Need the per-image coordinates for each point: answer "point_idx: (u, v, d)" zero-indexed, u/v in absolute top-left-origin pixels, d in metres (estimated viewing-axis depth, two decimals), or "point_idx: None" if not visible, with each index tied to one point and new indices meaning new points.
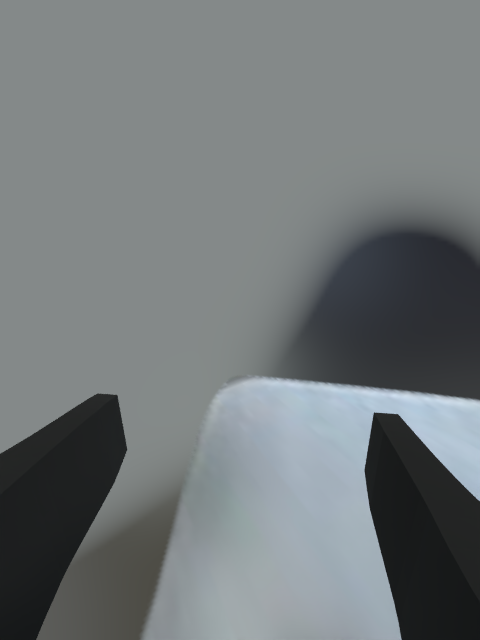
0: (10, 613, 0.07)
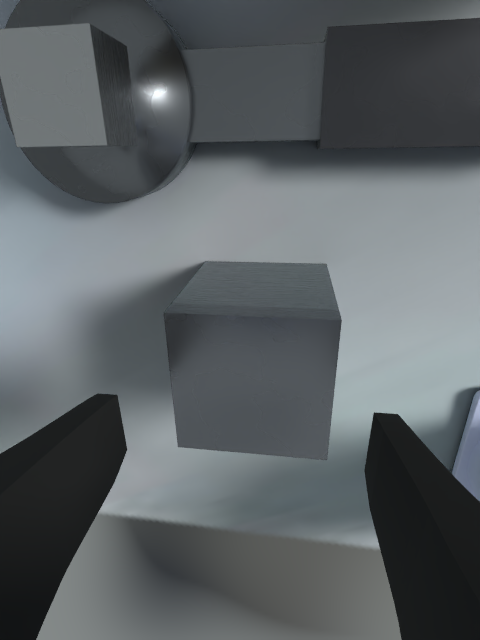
0: (10, 613, 0.07)
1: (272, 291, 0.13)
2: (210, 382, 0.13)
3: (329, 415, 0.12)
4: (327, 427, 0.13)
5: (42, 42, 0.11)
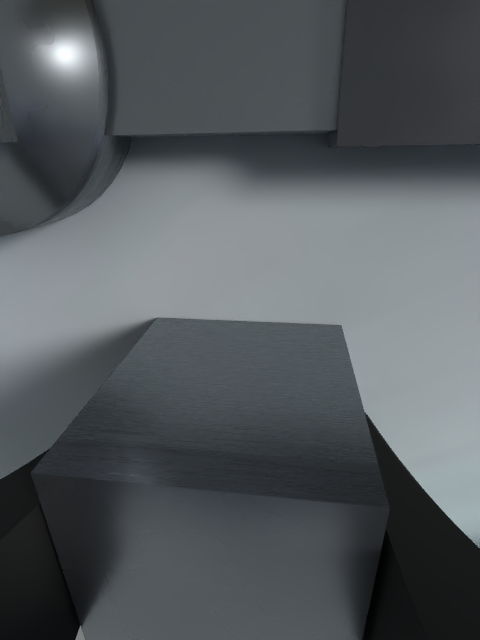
0: (51, 619, 0.07)
1: (252, 400, 0.08)
2: (134, 582, 0.07)
3: None
4: None
5: None
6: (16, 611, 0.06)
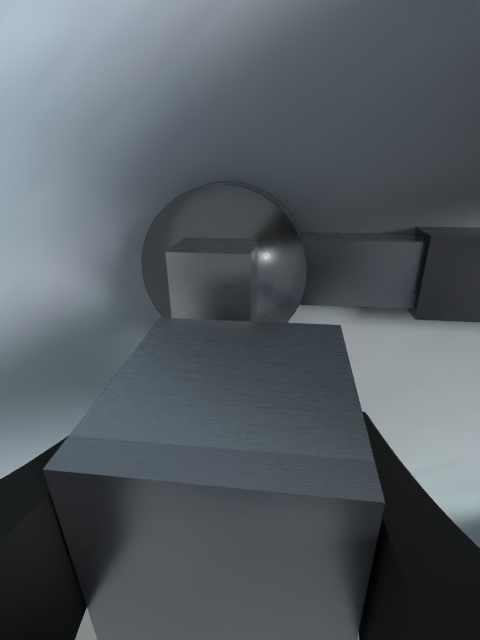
0: (50, 619, 0.07)
1: (254, 399, 0.08)
2: (141, 573, 0.07)
3: (353, 634, 0.07)
4: None
5: (208, 263, 0.13)
6: (16, 611, 0.06)
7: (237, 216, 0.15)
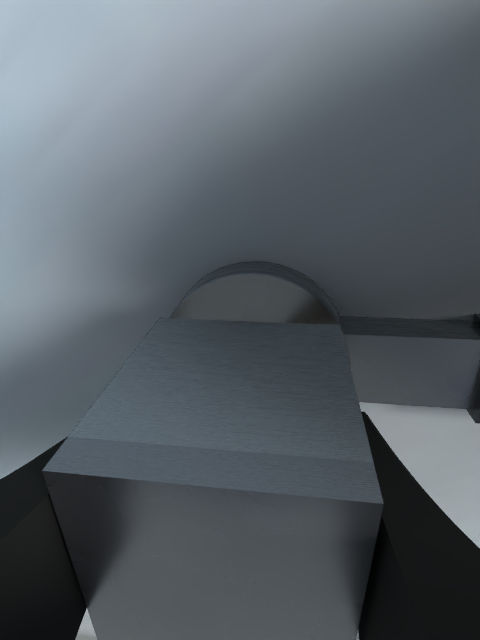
0: (51, 619, 0.07)
1: (253, 399, 0.08)
2: (140, 574, 0.07)
3: (352, 634, 0.07)
4: None
5: None
6: (16, 611, 0.06)
7: (271, 310, 0.13)
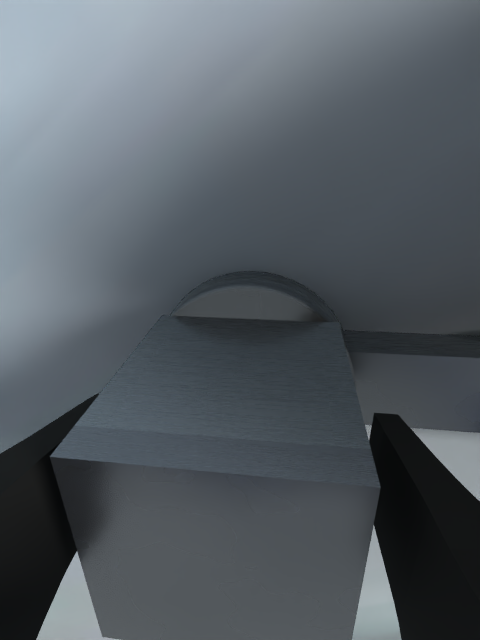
0: (10, 613, 0.07)
1: (254, 391, 0.08)
2: (144, 560, 0.07)
3: (351, 620, 0.07)
4: (347, 634, 0.07)
5: None
6: None
7: None
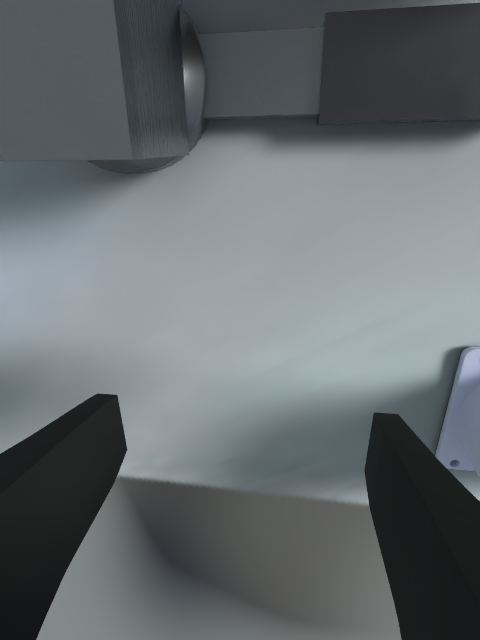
0: (10, 613, 0.07)
1: None
2: None
3: (119, 77, 0.10)
4: (122, 100, 0.10)
5: None
6: None
7: None
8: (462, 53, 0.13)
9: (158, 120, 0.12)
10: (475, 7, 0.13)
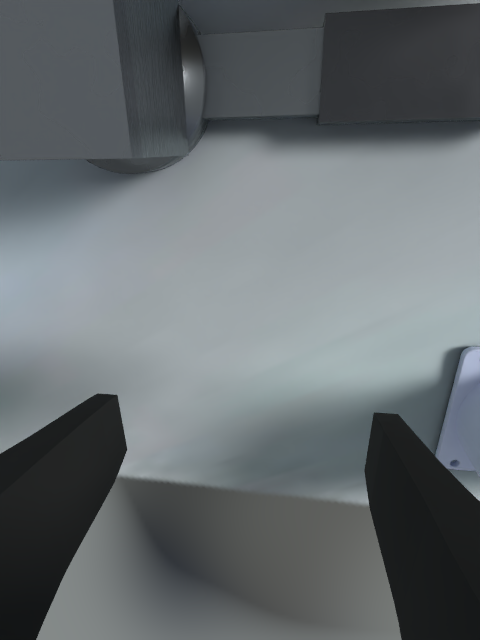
0: (10, 613, 0.07)
1: None
2: None
3: (119, 76, 0.10)
4: (121, 99, 0.10)
5: None
6: None
7: None
8: (462, 53, 0.13)
9: (158, 120, 0.12)
10: (475, 7, 0.13)
